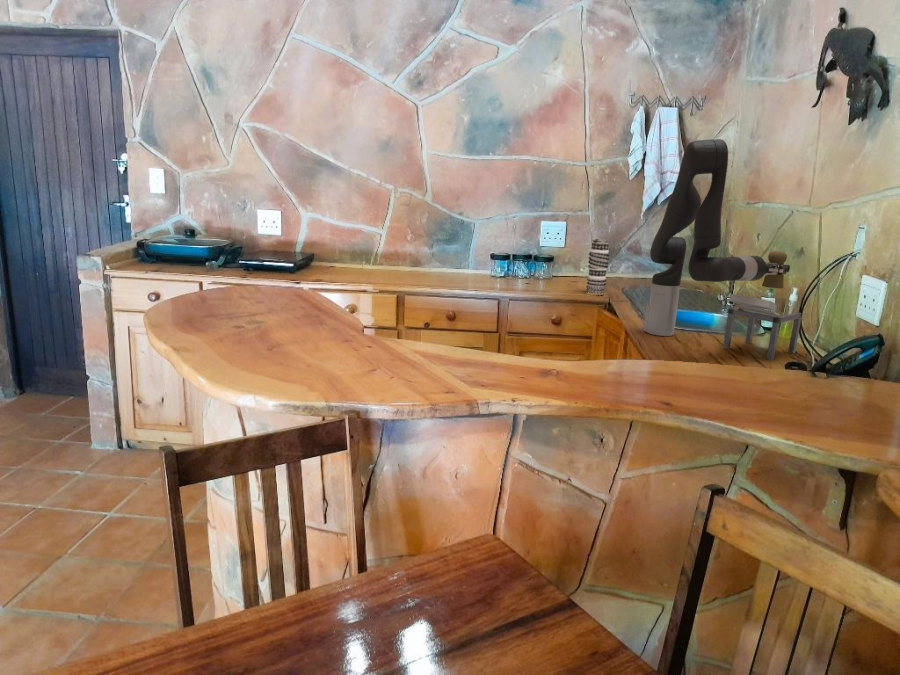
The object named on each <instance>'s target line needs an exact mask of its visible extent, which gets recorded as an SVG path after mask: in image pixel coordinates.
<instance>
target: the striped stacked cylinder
mask: <svg viewBox="0 0 900 675" xmlns="http://www.w3.org/2000/svg"><path fill="white" fill-rule="evenodd" d="M590 242H591V246H590V251H589V253H588V259H589V260H588V275H587V279H586V280H587V282H586V284H587V285H586V286H585V287H586V289H585V291H586V293H587V292H589V293H594V294H601V293H604V294H605V293H606V289H607V288H606V285H607V283H606V282H607V271H608V267H609V266H608V265H609V262H608V261H610V258H609V257H610V254H609V251H610V250H609V247H610V246H609V245H610V242H609V241H608V239H605V238H595V239H593V240H592V241H590Z"/></svg>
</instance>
